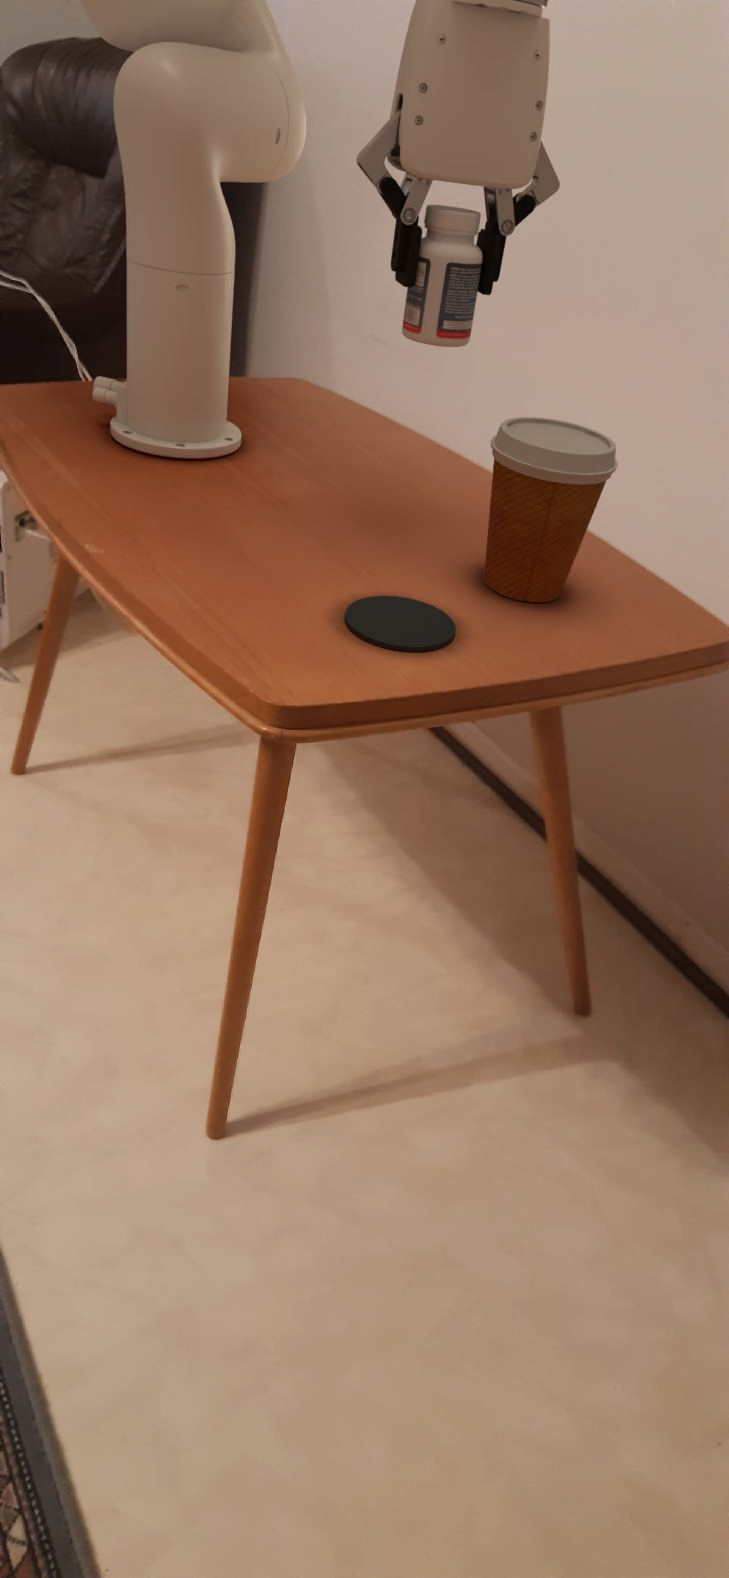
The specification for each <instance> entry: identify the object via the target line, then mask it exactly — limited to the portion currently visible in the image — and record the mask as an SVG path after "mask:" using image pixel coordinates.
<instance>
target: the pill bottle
mask: <svg viewBox="0 0 729 1578" xmlns="http://www.w3.org/2000/svg"><path fill="white" fill-rule="evenodd" d="M481 215H482V213H481V212H479V211H477V210H472V209H468V208H465V207H458V206H450V205H442V204H427V205H426V208H425V214H424V220H423V223H424V226H423V227H424V228H425V229H426V233H425V237H422V239H421V246H420V253H419V260H418V267H417V275H416V282H415V285H414V286H412V288H410V287H406V296H405V302H404V303H405V304H404V305H405V306H404V313H403V319H402V328H401V333H402V335H403V336H404V337H405V338H406V339H408V340H410V341H412V342H416V343H420V344H425V345H429V346H435V347H442V348H460V347H465V346H467V345H468V344H469V343H470V340H471V336H472V335H471V334H472V330H473V329H472V328H473V323H474V316H475V311H476V304H477V299H478V298H477V297H478V293H479V292H478V286H479V280H480V274H481V268H482V260H483V254H482V251H481V249H480V248H479V247H478V246H476V243H475V236H478V233H479V230H480V224H481V217H482V216H481Z"/></svg>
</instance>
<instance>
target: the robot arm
mask: <svg viewBox="0 0 729 1578" xmlns="http://www.w3.org/2000/svg"><path fill="white" fill-rule="evenodd" d="M79 1H80V3H81V6H82V8H83V9H84V12H85V14H86V17H87V18H88V19H89V22H90V23H91V25H92V27H93V28H94V30H95V31H96V33H97V34H98V35H99V36H100V37H101V39H103V40H104V41H105V42H106V43H108V44H110V45H112V46H113V47H116V48H118V49H120V50H124V51H129V52H132V53H131V54H130V56H129V57H128V58H127V59H126V60H125V61H124V63H123V64H122V66H121V68H120V70H119V71H118V74H117V77H116V80H115V84H114V91H113V101H112V103H113V118H114V126H115V133H116V139H117V145H118V148H119V155H120V162H121V168H122V170H121V171H122V177H123V186H124V187H123V188H124V199H125V225H126V227H125V228H126V229H125V230H126V233H125V235H126V237H125V238H126V240H125V241H126V242H125V243H126V245H125V246H126V380H125V381H123V382H121V381H117V380H116V379H114V378H109V377H106V376H101V375H99V376H96V377H95V378H94V381H93V386H92V389H93V390H92V396H91V397H92V400H93V401H94V402H97V403H101V404H105V405H112V406H113V408H115V409H116V414H115V415H114V416H113V417H112V418H111V420H110V421H109V422H110V425H109V426H110V427H109V428H110V432H109V433H110V435H111V437H113V439H114V440H115V441H116V442H118V443H119V444H121V445H122V446H125V447H127V448H130V449H132V450H135V451H138V452H141V453H145V454H148V455H152V456H153V455H154V456H157V457H159V456H160V457H165V458H174V459H195V460H196V459H198V460H199V459H211V458H217V457H218V458H219V457H223V456H226V455H230V454H232V453H234V452H235V451H237V450H238V449H239V448H241V445H242V431H241V430H240V428H239V427H238V426H237V425H235V423H233V422H231V421H229V420H228V419H227V418H228V417H227V415H228V399H229V398H228V397H229V382H230V381H229V380H230V365H231V364H230V363H231V362H230V361H231V343H232V325H233V308H234V306H233V305H234V292H235V291H234V290H235V289H234V287H235V271H236V269H235V266H236V265H235V264H236V238H235V230H234V225H233V221H232V218H231V215H230V212H229V211H230V210H229V208H228V206H227V205H228V204H227V203H226V200H225V196H224V194H223V190H222V187H221V186H222V185H221V183H267V182H268V183H269V182H272V181H276V180H278V179H280V178H283V177H285V176H286V175H287V174H289V173H290V172H291V171H292V170H293V169H294V168H295V166H296V165H297V163H298V162H299V160H300V158H301V156H302V153H303V151H304V147H305V144H306V136H307V113H306V105H305V101H304V96H303V93H302V89H301V86H300V83H299V79H298V77H297V74H296V71H295V69H294V67H293V65H292V62H291V59H290V58H289V54H288V52H287V48H286V47H285V43H284V41H283V39H282V37H281V34H280V32H279V29H278V26H277V25H276V24H277V23H276V21H275V19H274V17H273V14H272V13H271V9H270V7H269V5H268V2H267V0H79ZM548 2H549V0H415V2H414V5H413V8H412V13H411V15H410V19H409V23H408V25H407V26H408V27H407V31H406V35H405V39H404V43H403V47H402V52H401V56H400V62H399V67H398V71H397V76H396V81H395V87H394V92H393V98H392V104H391V110H390V115H389V119H388V120H387V122H386V123H384V124H383V126H382V127H381V128H380V129H379V131H377V133H375V135H374V136H373V137H372V138H371V139H370V140H369V141H368V143H366V145H365V146H364V147H363V148H362V149H361V150H360V151H359V152H358V154H357V156H356V164H357V166H358V168H359V169H360V170H361V171H362V173H363V174H364V175H365V176H366V178H367V179H368V180H369V182H370V183H371V184H372V185H373V186H374V188H375V189H376V191H377V193H378V194H379V196H380V197H381V199H382V201H383V202H384V203H385V205H386V206H387V208H388V209H389V211H390V213H391V216H392V217H393V218H394V219H395V225H394V231H393V232H394V233H393V242H392V248H391V249H392V250H391V258H390V269H391V271H392V272H393V273H394V279H395V282H396V283H398V284H400V285H401V286H402V287H404V288H408V287H410V288H412V286H414V285H415V282H416V275H417V267H418V260H419V253H420V246H421V239H422V238H423V228H422V227H421V226H420V225H419V219H420V216H419V214H420V212H421V210H422V208H423V206H424V204H425V201H426V198H427V196H428V193H429V191H430V188H431V186H432V184H433V181H438V182H445V183H452V184H460V185H467V186H476V187H482V188H483V196H484V206H485V215H486V221H485V224H484V228H480V231H479V230H478V235H477V238H476V243H475V245H476V246H478V247H479V248H480V249H481V251H482V254H483V260H482V268H481V274H480V280H479V286H478V292H477V293H479V294H481V295H483V296H491V294H492V291H493V287H494V283H497V282H498V281H499V279H500V276H501V275H500V274H501V270H502V264H503V259H504V252H505V247H506V242H507V237H509V236H511V235H512V234H513V233H514V232H515V229H516V227H518V225H520V224H521V223H522V222H523V221H524V220H526V218H528V216H529V215H531V214H532V213H533V212H534V211H535V209H536V208H537V207H538V206H540V205H542V204H543V203H544V202H546V201H547V200H548V199H549V198H551V197H552V196H553V195H555V194H556V193H557V192H558V191H559V189H560V185H561V183H560V180H559V178H558V175H557V173H556V170H555V168H554V166H553V164H552V162H551V160H550V157H549V154H548V153H547V151H546V149H545V146H544V143H543V141H542V136H543V129H544V122H545V115H546V105H547V97H548V96H547V95H548V86H549V73H550V53H551V19H550V18H547V17H543V13H544V8H547V6H548ZM385 160H387V162H388V163H389V164H390V165H391V166H392V167H393V168H395V169H397V170H399V171H401V172H404V173H405V174H404V177H403V179H402V181H401V184H400V185H399V183H398V182H397V180H396V179H395V178H394V177H393V176H392V175H391V173H390V171H389V170H388V169H387V168H386V167H387V166H386V165H385ZM523 187H525V189H524V190H522V191H521V192H518V193H516V194H515V195H514V196H513V190H516V189H517V190H518V189H521V188H523Z"/></svg>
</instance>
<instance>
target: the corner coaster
mask: <svg viewBox="0 0 729 1578" xmlns="http://www.w3.org/2000/svg"><path fill="white" fill-rule="evenodd" d="M344 623H345V625H346V627H347V628H348V630H349V631H350V632H351V633H353V634H354V635H355V636H357V638H360V639H361V640H363V641H365V642H367V643H370V644H372V645H374V646H377V647H381V648H384V649H388V650H393V651H400V652H408V653H409V652H411V653H415V652H416V653H420V652H422V653H423V652H431V651H436V650H439V649H442V648H444V647H446V646H448V645H449V644H450V643H452V641H453V640H454V638H455V636H456V632H457V631H456V629H457V628H456V623H455V622H454V620H453V618H451V617H450V615H448V614H447V613H446V612H445V611H443V610H442V609H440V608H438V607H436V606H435V605H432V604H429V603H427V602H424V601H421V600H417V599H413V598H409V597H404V596H396V595H373V596H367V597H362V598H359V599H357V600H355V601H353V602H351V603H350V604H349V605H347V607H346V609H345V612H344Z"/></svg>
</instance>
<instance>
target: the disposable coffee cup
mask: <svg viewBox="0 0 729 1578" xmlns="http://www.w3.org/2000/svg"><path fill="white" fill-rule="evenodd" d="M490 447H491V449H492V450H491V454H492V457H493V465H492V466H493V467H492V481H491V490H490V498H489V499H490V500H489V501H490V502H489V514H488V524H487V525H488V526H487V527H488V528H487V538H486V548H485V549H486V552H485V562H484V574H483V575H484V576H483V582H484V583H485V585H486V586H487V587H488V588H490V589H491V590H493V591H494V592H496V593H498V594H499V595H502V596H504V597H507V598H510V599H514V600H516V601H524V602H528V603H529V602H530V603H545V602H552V601H555V600H556V599H558V598H559V597H560V596H561V595H562V592H563V589H564V587H565V585H566V582H567V579H568V578H569V574H570V572H571V570H572V567H573V565H574V562H575V559H576V557H577V555H578V552H579V550H580V547H581V545H582V542H583V540H584V538H585V535H586V533H587V531H588V528H589V525H590V523H591V520H592V517H593V515H594V514H595V510H596V508H597V505H598V503H599V500H600V498H601V496H602V493H603V490H604V488H605V485H606V483H607V481H608V480H609V479H611V477H612V475H613V473H614V472H615V471H617V468H618V465H619V463H618V461H617V459H616V452H617V451H616V450H617V449H616V448H617V446H616V443H615V442H614V440H613V439H611V438H610V437H609V436H607V435H605V434H603V433H602V432H600V431H597V430H595V429H592V428H589V427H586V426H583V425H581V424H578V423H572V422H569V421H565V420H560V419H554V418H545V417H536V416H519V417H512V418H507V419H505V420H504V421H502V422H501V423H500V425H499V427H498V430H497V432H496V434H495V435H494V436H492V437H491V439H490Z"/></svg>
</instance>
